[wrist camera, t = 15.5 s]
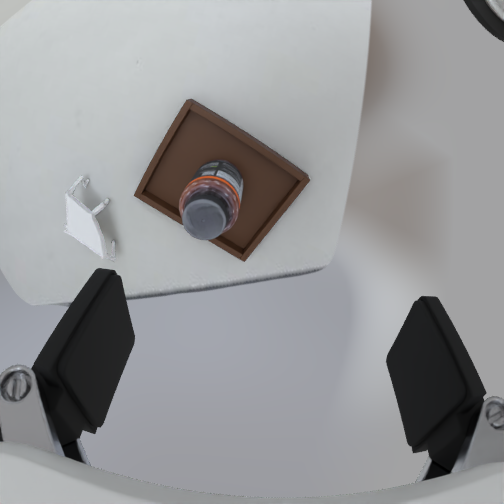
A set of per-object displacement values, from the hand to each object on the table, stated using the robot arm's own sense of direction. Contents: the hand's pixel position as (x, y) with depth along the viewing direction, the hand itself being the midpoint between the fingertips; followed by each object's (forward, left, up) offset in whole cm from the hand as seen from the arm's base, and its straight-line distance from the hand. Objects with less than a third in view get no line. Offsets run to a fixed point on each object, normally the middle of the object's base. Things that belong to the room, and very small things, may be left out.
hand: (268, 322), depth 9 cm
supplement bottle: (+2, +7, -29) cm, 30 cm away
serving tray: (+2, +7, -29) cm, 30 cm away
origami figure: (+14, +21, -29) cm, 39 cm away
